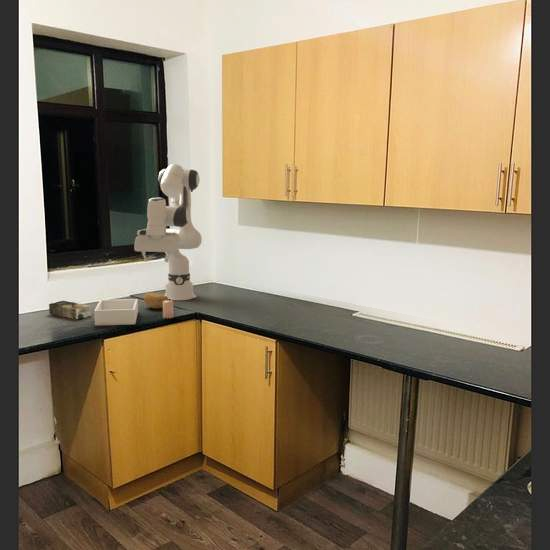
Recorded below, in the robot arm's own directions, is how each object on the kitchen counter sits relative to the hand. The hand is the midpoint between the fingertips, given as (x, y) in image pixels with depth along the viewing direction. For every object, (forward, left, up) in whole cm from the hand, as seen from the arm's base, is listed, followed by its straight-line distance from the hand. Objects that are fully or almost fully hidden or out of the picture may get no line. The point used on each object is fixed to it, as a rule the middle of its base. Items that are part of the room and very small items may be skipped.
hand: (156, 261), depth 260 cm
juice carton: (-14, -42, -29) cm, 53 cm away
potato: (-23, -1, -29) cm, 37 cm away
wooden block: (-4, +5, -28) cm, 29 cm away
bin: (-4, -19, -28) cm, 34 cm away
